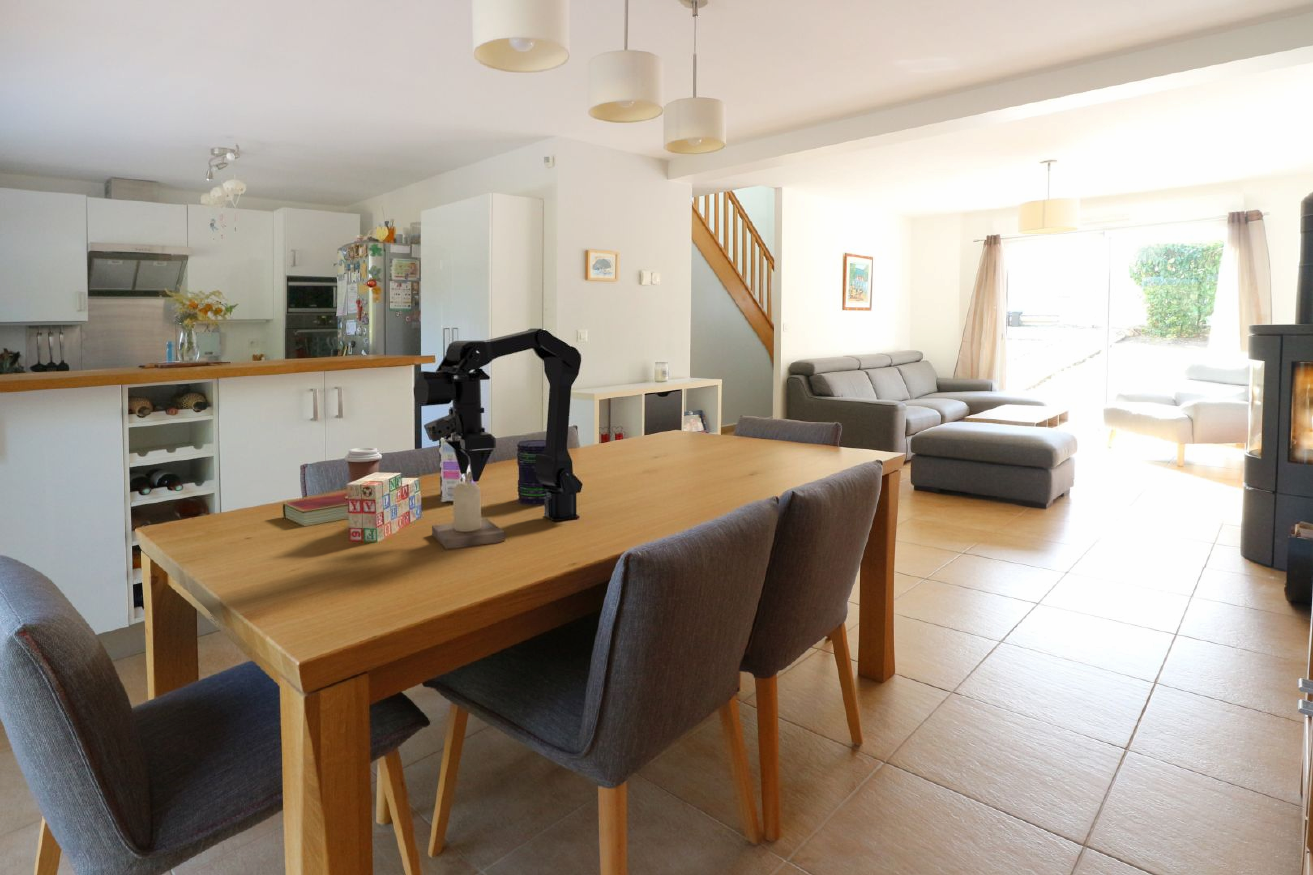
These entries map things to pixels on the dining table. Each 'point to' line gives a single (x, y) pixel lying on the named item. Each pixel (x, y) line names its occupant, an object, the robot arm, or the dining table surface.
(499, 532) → the grey square slab
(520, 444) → the storage jar
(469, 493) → the candle
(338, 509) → the hardcover book
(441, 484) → the candy box
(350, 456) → the coffee cup
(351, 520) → the stack of blocks
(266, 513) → the dining table surface
